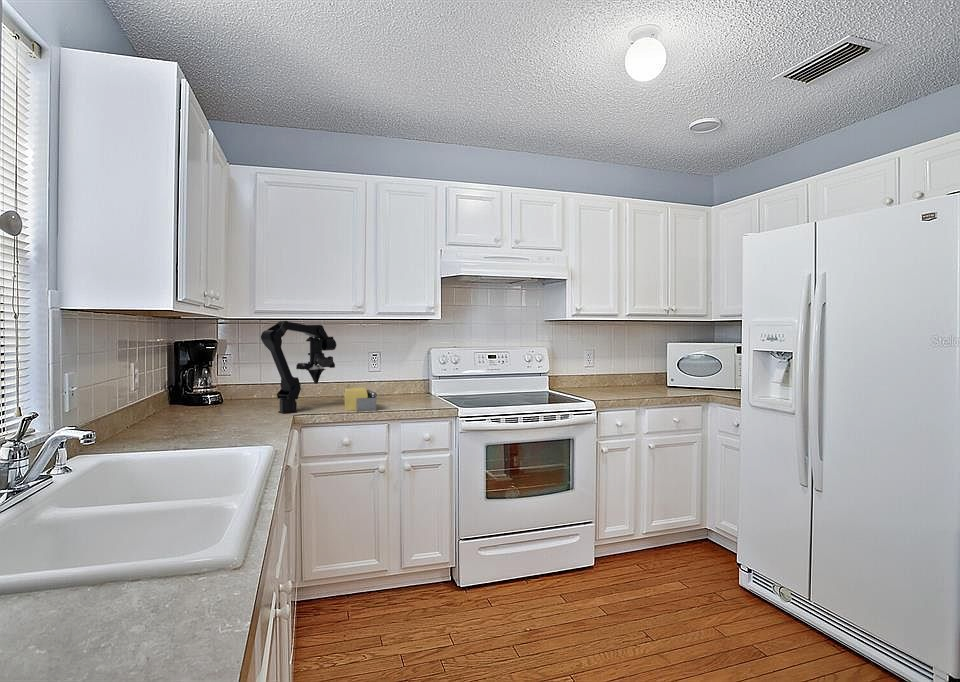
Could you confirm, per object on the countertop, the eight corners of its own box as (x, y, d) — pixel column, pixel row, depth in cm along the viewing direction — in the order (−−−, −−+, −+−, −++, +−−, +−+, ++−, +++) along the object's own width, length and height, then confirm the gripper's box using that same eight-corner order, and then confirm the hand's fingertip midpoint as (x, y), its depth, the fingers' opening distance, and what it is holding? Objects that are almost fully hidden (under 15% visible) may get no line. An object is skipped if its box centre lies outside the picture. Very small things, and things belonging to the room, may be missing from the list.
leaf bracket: (357, 411, 272) (357, 393, 272) (350, 407, 288) (350, 389, 288) (377, 410, 276) (377, 392, 276) (369, 406, 292) (369, 389, 291)
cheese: (345, 408, 285) (345, 387, 284) (368, 407, 286) (368, 387, 286) (344, 411, 274) (344, 389, 274) (367, 410, 276) (367, 389, 276)
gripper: (310, 352, 269) (310, 386, 269) (342, 350, 284) (342, 383, 284) (295, 351, 275) (295, 384, 276) (327, 350, 291) (327, 381, 291)
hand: (316, 383), depth 282 cm, fingers closed
